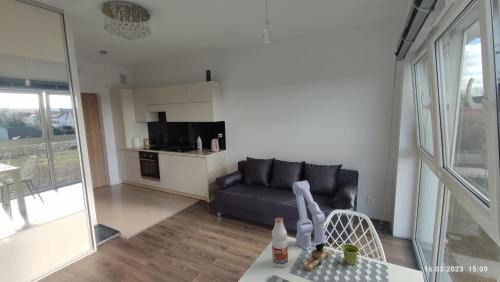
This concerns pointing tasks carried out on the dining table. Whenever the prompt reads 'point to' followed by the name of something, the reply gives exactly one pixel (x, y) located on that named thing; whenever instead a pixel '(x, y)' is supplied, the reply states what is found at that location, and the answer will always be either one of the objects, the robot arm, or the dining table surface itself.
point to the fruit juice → (279, 244)
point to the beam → (314, 261)
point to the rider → (316, 254)
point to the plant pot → (350, 253)
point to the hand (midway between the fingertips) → (319, 253)
